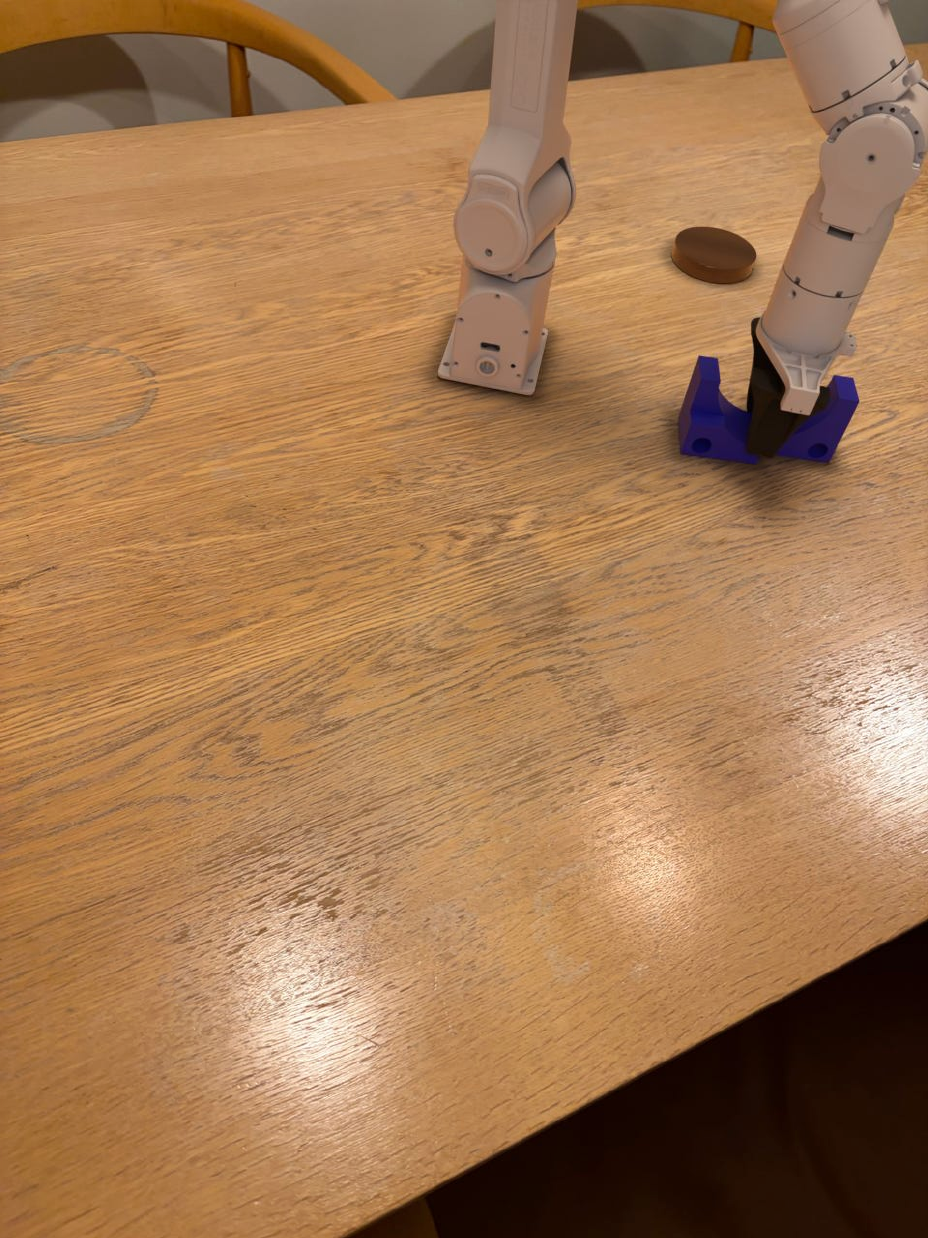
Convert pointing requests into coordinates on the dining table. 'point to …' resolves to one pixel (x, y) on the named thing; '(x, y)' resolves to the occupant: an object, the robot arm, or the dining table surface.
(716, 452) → the blue clamp bracket
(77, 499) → the dining table surface
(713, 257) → the walnut chip
